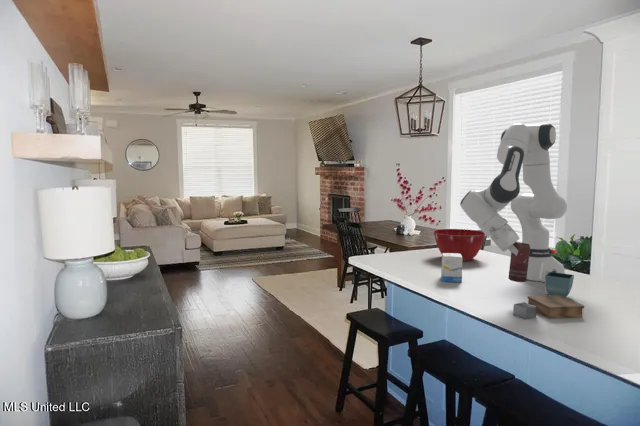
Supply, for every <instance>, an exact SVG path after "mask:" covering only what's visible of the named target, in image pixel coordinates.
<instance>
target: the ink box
mask: <svg viewBox="0 0 640 426" xmlns="http://www.w3.org/2000/svg"><path fill="white" fill-rule="evenodd" d="M463 262H464V261H463V257H462V255H461V254H458V253H442V254H441V275H440V277H441V280H442V282H447V283H449V282H451V283H462V282H463Z"/></svg>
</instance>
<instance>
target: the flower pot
mask: <svg viewBox="0 0 640 426" xmlns="http://www.w3.org/2000/svg"><path fill="white" fill-rule="evenodd" d="M574 279H575V275H574V274H570V273H565V274H563V273H556V272H549V273H547V274H546V275H545V282H544V283H545V289H546V293H547V294H548V295H560V296H563V297H565V298H568V296H569V294H570V292H571V291H572V288H573V283H574Z"/></svg>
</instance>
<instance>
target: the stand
mask: <svg viewBox="0 0 640 426" xmlns="http://www.w3.org/2000/svg"><path fill="white" fill-rule="evenodd" d="M527 299H528V304H531V305H534V306H537V307H536V313H538V314H540V315H542V316H544V317H545V318H548V319H568V318H569V319H570V318H583V309H585V305H582V304H581V303H578V302H576V301H573V300H572V299H569V298H568V297H566V298H565V297H563V296H560V295H549V294H548V295H528V296H527Z"/></svg>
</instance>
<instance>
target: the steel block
mask: <svg viewBox="0 0 640 426" xmlns="http://www.w3.org/2000/svg"><path fill="white" fill-rule="evenodd" d="M536 307H537V306H534V305H531V304H528V303H527V302H524V301H522V302H518V303H513V309H512V310H513V312H512V315H513V316H515V317H517V318H521V319H523V320H525V321H526V320H530V319H531V320H532V319H535V318H537V312H536Z"/></svg>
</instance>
